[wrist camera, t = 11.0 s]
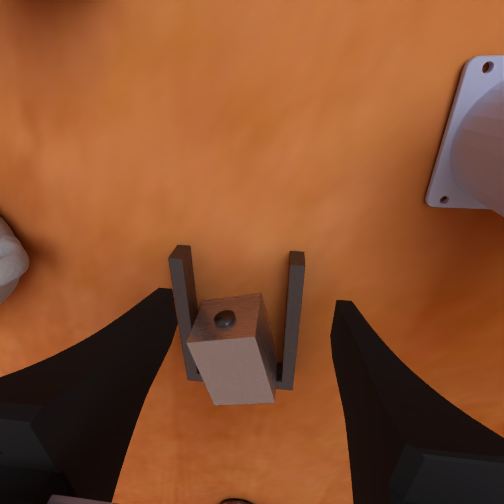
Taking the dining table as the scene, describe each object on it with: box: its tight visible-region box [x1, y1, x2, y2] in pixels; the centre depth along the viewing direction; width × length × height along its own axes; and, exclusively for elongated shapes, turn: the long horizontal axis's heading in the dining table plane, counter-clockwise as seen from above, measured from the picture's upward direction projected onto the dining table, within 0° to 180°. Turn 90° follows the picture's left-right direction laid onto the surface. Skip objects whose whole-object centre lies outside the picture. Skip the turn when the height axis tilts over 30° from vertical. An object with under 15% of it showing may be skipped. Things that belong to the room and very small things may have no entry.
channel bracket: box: [168, 245, 305, 390], centre depth 25 cm, size 10×13×2 cm
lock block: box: [187, 293, 277, 405], centre depth 24 cm, size 5×7×5 cm
